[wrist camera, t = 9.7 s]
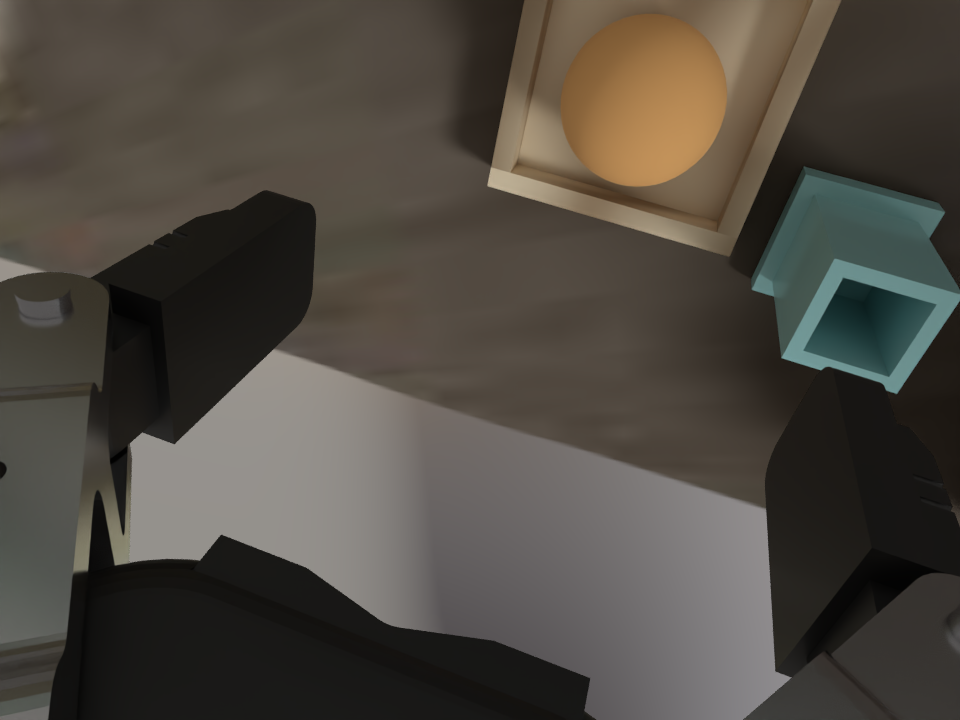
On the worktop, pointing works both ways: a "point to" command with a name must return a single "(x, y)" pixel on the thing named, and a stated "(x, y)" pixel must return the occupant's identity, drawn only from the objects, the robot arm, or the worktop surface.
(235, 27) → the worktop surface
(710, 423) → the worktop surface
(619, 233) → the worktop surface
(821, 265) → the teal box
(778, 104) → the tray
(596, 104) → the ball
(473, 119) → the worktop surface
